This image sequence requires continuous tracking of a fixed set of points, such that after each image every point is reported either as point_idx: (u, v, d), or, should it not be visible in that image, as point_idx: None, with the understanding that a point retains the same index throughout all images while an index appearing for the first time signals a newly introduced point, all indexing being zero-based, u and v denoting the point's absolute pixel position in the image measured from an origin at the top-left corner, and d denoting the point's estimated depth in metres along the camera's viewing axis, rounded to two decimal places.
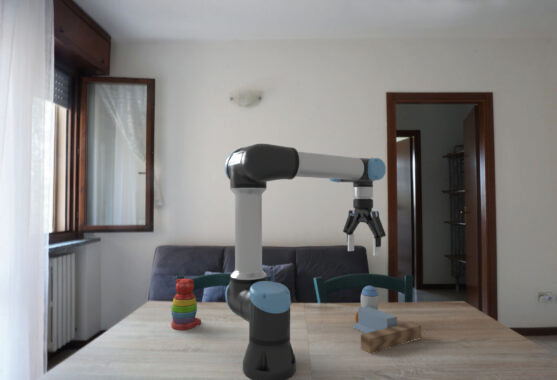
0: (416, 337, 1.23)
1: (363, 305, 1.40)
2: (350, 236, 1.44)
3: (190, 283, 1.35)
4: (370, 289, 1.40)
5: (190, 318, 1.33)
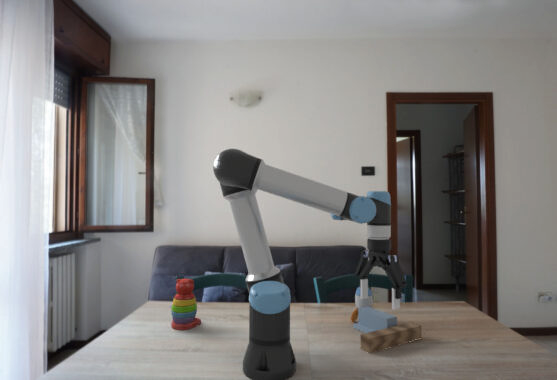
0: (416, 337, 1.22)
1: (358, 305, 1.40)
2: (363, 281, 1.22)
3: (190, 283, 1.35)
4: None
5: (190, 318, 1.33)
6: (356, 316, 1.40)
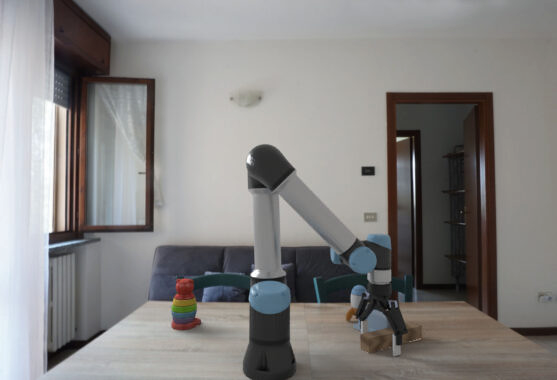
0: (417, 337, 1.22)
1: (353, 304, 1.41)
2: (364, 323, 1.22)
3: (190, 283, 1.35)
4: (360, 288, 1.41)
5: (190, 318, 1.33)
6: (351, 315, 1.41)
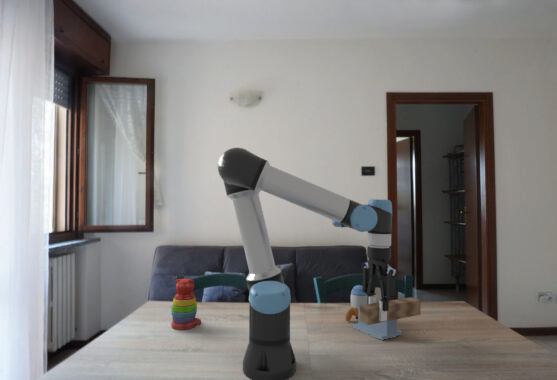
0: (415, 311, 1.23)
1: (353, 304, 1.41)
2: (371, 298, 1.18)
3: (190, 283, 1.35)
4: (360, 288, 1.41)
5: (190, 318, 1.33)
6: (351, 315, 1.41)
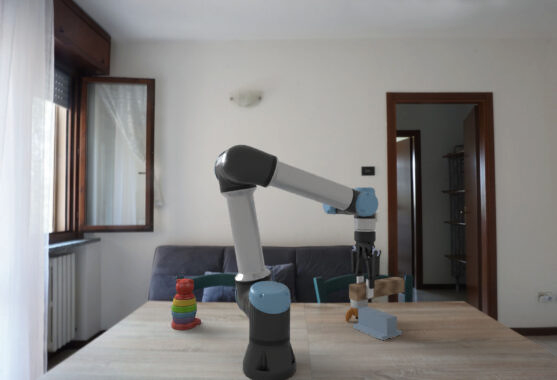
0: (400, 289, 1.34)
1: (353, 304, 1.41)
2: (359, 278, 1.29)
3: (190, 283, 1.35)
4: None
5: (190, 318, 1.33)
6: (351, 315, 1.41)
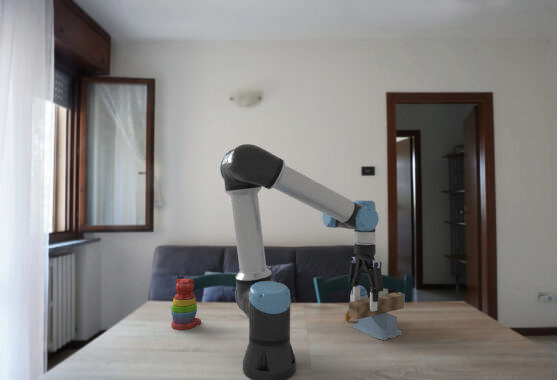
0: (399, 305, 1.34)
1: None
2: (356, 288, 1.31)
3: (190, 283, 1.35)
4: (360, 288, 1.41)
5: (190, 318, 1.33)
6: None
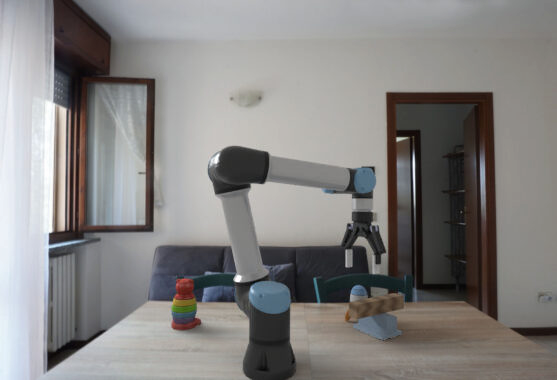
0: (399, 305, 1.34)
1: None
2: (348, 251, 1.33)
3: (190, 283, 1.35)
4: (359, 288, 1.41)
5: (190, 318, 1.33)
6: None
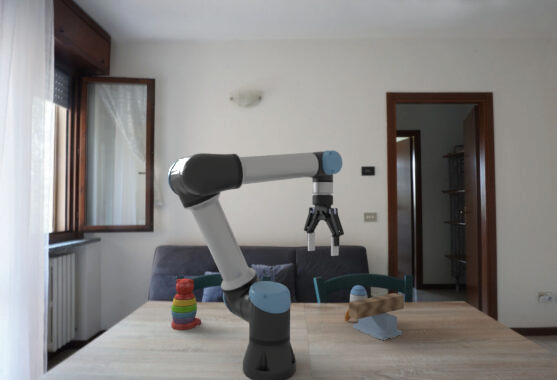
0: (399, 305, 1.34)
1: None
2: (310, 235, 1.35)
3: (190, 283, 1.35)
4: (359, 288, 1.41)
5: (190, 318, 1.33)
6: None
